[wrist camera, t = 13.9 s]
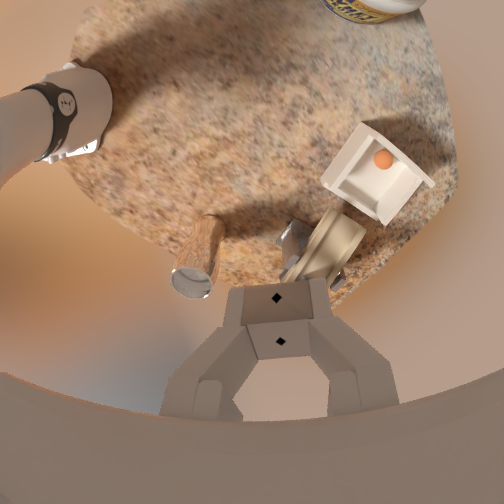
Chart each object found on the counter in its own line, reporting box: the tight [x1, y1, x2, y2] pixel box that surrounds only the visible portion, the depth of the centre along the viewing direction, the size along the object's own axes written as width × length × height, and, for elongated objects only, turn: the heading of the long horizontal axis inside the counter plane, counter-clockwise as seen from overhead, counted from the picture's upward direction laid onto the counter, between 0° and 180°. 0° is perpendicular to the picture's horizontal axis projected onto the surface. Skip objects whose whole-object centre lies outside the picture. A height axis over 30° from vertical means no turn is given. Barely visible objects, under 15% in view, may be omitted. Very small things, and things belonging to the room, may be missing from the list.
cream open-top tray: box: [320, 122, 435, 226], centre depth 39 cm, size 12×12×9 cm
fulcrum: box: [276, 217, 347, 292], centre depth 48 cm, size 6×12×9 cm, turn 61°
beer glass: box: [169, 215, 226, 300], centre depth 46 cm, size 7×7×15 cm
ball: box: [374, 150, 393, 170], centre depth 39 cm, size 3×3×3 cm
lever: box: [279, 206, 367, 289], centre depth 42 cm, size 16×8×16 cm, turn 151°
